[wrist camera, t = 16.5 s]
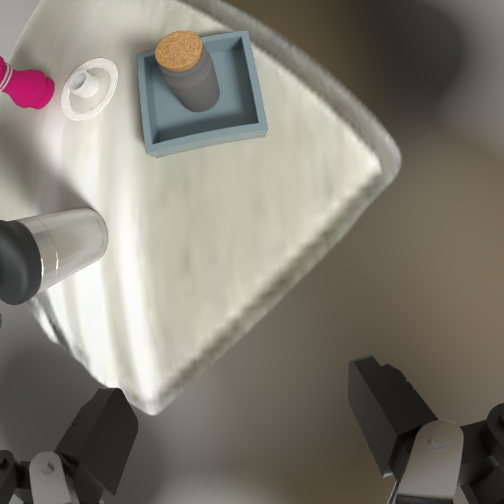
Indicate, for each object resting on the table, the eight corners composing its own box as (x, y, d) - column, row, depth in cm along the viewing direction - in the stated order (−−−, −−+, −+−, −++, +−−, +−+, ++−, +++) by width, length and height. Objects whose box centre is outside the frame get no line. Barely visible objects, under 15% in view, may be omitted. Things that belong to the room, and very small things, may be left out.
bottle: (184, 117, 36) (152, 80, 21) (177, 83, 34) (146, 36, 20) (224, 107, 36) (213, 63, 21) (216, 73, 34) (202, 20, 20)
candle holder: (101, 127, 36) (88, 122, 32) (53, 115, 35) (40, 111, 31) (131, 63, 34) (121, 52, 30) (81, 57, 33) (70, 48, 29)
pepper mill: (47, 71, 32) (-18, 39, 13) (62, 86, 34) (-9, 52, 14) (25, 101, 33) (-43, 81, 14) (39, 118, 35) (-36, 99, 15)
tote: (157, 157, 38) (146, 153, 33) (147, 67, 34) (137, 54, 29) (264, 136, 38) (268, 129, 33) (246, 46, 34) (247, 30, 29)
